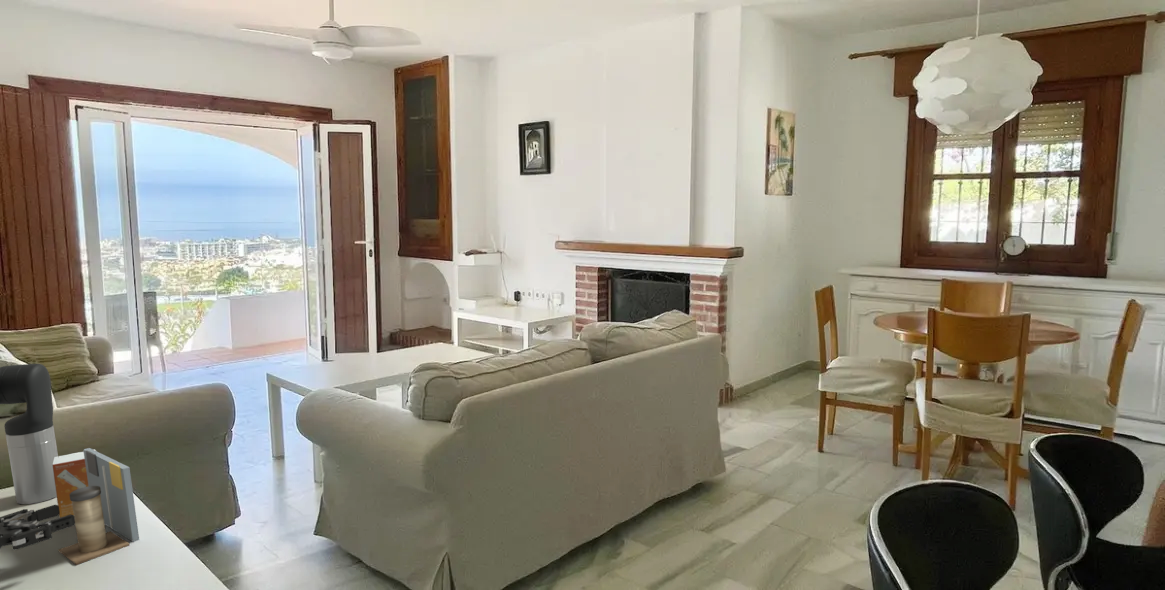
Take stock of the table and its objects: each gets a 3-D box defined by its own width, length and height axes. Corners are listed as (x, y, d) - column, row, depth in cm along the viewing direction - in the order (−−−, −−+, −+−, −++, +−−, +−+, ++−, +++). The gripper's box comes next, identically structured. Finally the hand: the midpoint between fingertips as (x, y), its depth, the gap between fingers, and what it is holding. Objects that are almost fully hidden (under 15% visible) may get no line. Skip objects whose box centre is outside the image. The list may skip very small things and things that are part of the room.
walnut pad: (58, 551, 145) (58, 549, 145) (110, 532, 152) (110, 531, 152) (76, 565, 139) (76, 563, 139) (129, 545, 146) (129, 543, 146)
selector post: (74, 548, 145) (65, 492, 143) (102, 538, 149) (94, 483, 147) (83, 555, 142) (74, 498, 140) (112, 544, 146) (104, 489, 144)
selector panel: (91, 517, 161) (81, 448, 159) (98, 514, 162) (89, 446, 160) (131, 542, 148) (121, 468, 145) (139, 539, 149) (129, 465, 147)
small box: (59, 519, 160) (51, 464, 159) (61, 509, 166) (53, 456, 164) (102, 509, 165) (94, 456, 163) (102, 500, 170) (95, 448, 168)
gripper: (-31, 538, 124) (77, 504, 137) (-53, 519, 132) (51, 488, 145) (-24, 578, 125) (82, 540, 138) (-46, 556, 133) (56, 523, 146)
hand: (66, 514), depth 141 cm, fingers open, 8 cm apart
